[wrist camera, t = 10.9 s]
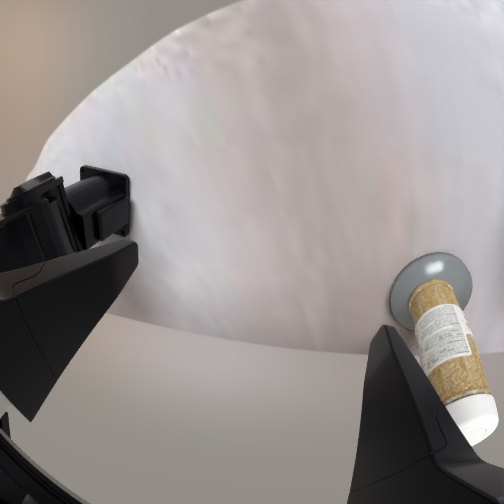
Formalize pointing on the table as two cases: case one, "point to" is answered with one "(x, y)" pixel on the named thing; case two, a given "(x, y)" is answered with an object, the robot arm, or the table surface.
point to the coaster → (424, 271)
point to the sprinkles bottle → (452, 359)
